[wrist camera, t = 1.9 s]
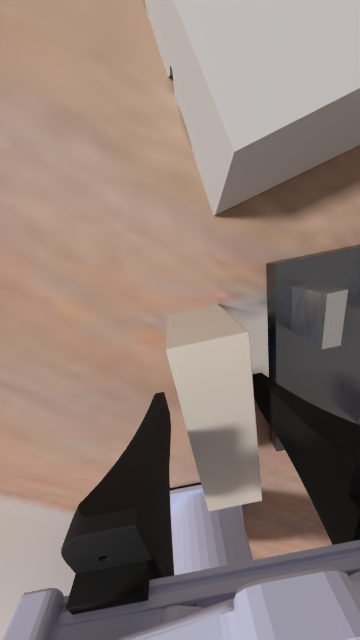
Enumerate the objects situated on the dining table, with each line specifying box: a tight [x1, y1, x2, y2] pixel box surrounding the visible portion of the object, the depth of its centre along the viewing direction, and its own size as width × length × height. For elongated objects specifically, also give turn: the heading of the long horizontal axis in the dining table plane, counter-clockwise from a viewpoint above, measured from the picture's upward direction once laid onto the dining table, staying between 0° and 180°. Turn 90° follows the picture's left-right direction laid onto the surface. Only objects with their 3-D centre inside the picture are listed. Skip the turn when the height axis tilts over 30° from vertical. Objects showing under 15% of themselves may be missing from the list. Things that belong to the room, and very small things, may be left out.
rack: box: [266, 245, 360, 451], centre depth 12 cm, size 16×9×4 cm, turn 11°
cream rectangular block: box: [166, 304, 262, 511], centre depth 12 cm, size 12×4×5 cm, turn 12°
